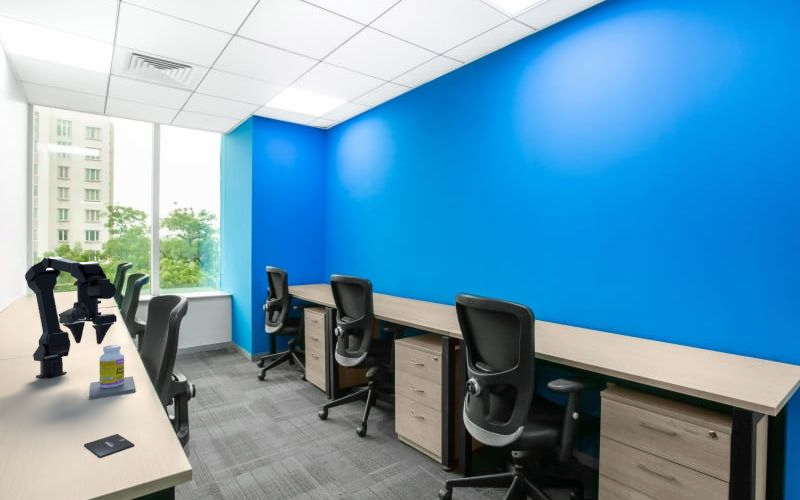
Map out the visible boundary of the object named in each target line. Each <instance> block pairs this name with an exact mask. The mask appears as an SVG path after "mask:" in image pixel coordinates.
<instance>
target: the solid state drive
mask: <svg viewBox="0 0 800 500" xmlns="http://www.w3.org/2000/svg"><path fill="white" fill-rule="evenodd" d="M83 446H84V447H85V448H86V449H88V451H90V452H91V453H93V454H94V455H95V456H97V457H98V458H104V457H106V456H109V455H112V454H115V453H117V452H121V451H123V450H127V449H130V448H133V447H135V443H133V442H131V441H130V440H129V439H127V438H125V437H124V436H121V435H120V434H118V433H115V434H112V435H109V436H105V437H103V438H99V439H96V440H93V441H90V442H87V443H84V444H83Z"/></svg>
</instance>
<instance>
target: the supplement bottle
mask: <svg viewBox="0 0 800 500" xmlns="http://www.w3.org/2000/svg"><path fill="white" fill-rule="evenodd" d="M121 348H122V347H121V345H120V344H112V345H111V344H110V345H105V346H103V347H102V350H103V354H102V355H100V357H99V381H100V387H101V388H114V387H118V386H121V385H122V384H123V383H124V378H125V354H124V353H122V352H121Z"/></svg>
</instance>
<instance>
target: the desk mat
mask: <svg viewBox="0 0 800 500" xmlns="http://www.w3.org/2000/svg"><path fill="white" fill-rule="evenodd" d="M136 392H137V391H136V385H135V379H134V376H133V375H132V376H126V377H125V376H124V383H123V384H122V385H121V386H118V387H114V388H101V387H100V380H99V381H93V382H90V383H89V393H88V401H89V400H96V399H102V398H107V397H114V396H119V395H124V394H131V393H136Z"/></svg>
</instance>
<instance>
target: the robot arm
mask: <svg viewBox="0 0 800 500" xmlns="http://www.w3.org/2000/svg"><path fill="white" fill-rule="evenodd" d="M62 272H64V273H68V274H70V276H71V277H73V278H74V279H76V280H75V281H74V282H73V284H72V285H73V286H76V291H77V292H76V295H77V296H76V298H77V301H75V302H74V303H73V305H72V306H73V307H71V308H68V309H66V310H64V311H62V312H60V313H58V309H57V305H56V298H55V294H54V289H55V287H56V285H57V284H58V279H57V278H58V277H59V276H61V274H62ZM24 279H25V281H26V284H27V286H28V288H29V289H30V290H31V291H32V292H33V293H34V294H35V297H36V303H37V307H38V313H39V318H40V324H41V329H42V333H41V336H40V338H39V340H38V347H37V348H36V349H35V351H34V352H33V354H32V357H33V358H32V359H33V361H35V362H40V363H39V364H40V365H39V366H40V367H39V368H40V369H39V370H40V374H37V375H35V378H41V379H42V378H44V379H51V378H54V377H58V376H61V375H65V374H68V372H67V371H64V367H63V366H64V364H63V363H64V362H63V358H65V357H68V356H69V354H70V351H71V340H70V336H69V332H68V331H64V330H63V329H61V324H62V327H66V328H67V329H68V330H69V331H70V332H71V334H72V336H73V340H74V341H75V343H76V344H81V341H82V337H83V334H84V329H85V323H86V322H91V323H92V324H93V325H92V324H91V327H93V329H94V330H95V337H96V338H95V339H96V343H97V345H101V344H102V343H103V341H104V338H105V337H106V335H107V333H108V331H109V330H110V328H111V327H112V325H114V323H117V322H118V319H117V317H118V316H117V315H116V314H114V313H104V314H102V312H99V304H102V300H109V299H112V298H113V297H114V296H115V295H116V293H117V288H116V286H115V284H114V283H112V282H111V279H110V278H108V276H107V274H106V273H105V272H104V270H103V268H102V266H101V265H100V263H99V262H98V261H86V262H83V261H81V262H80V261H76V260H72V259H66V258H63V257H61V256H46V257H44V258H43V259H42V260H41V261H40V262H38V263H36V264H33V265H31V267H29V269H28V270H27V271H26V273H25V275H24Z"/></svg>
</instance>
